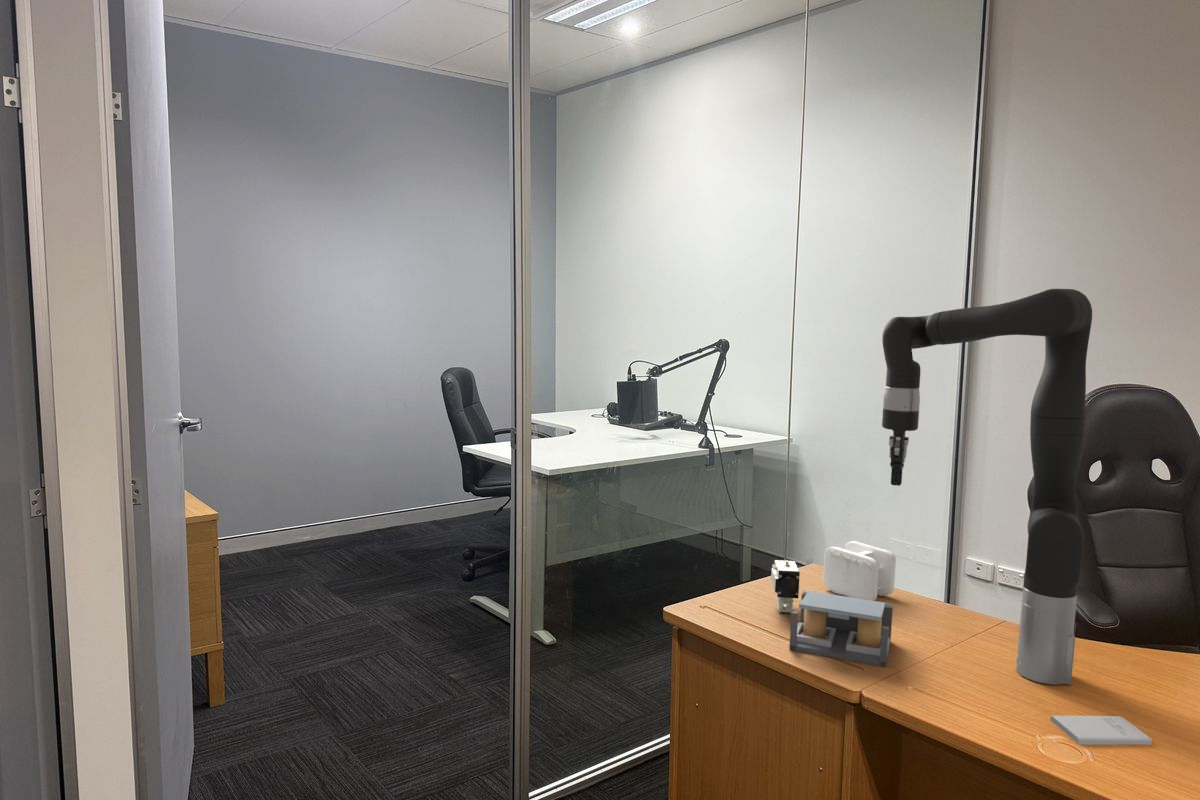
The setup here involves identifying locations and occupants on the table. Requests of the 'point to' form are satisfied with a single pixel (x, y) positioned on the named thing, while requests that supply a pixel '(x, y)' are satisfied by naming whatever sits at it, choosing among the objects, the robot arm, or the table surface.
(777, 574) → the pneumatic valve
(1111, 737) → the external hard drive
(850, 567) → the cable organizer
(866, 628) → the beige rounded cylinder
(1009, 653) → the table surface
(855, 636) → the housing
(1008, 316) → the robot arm
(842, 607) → the lid
